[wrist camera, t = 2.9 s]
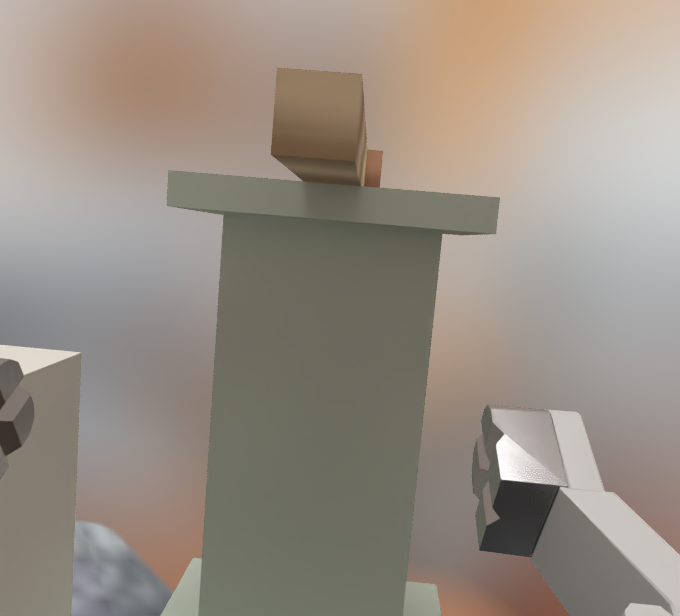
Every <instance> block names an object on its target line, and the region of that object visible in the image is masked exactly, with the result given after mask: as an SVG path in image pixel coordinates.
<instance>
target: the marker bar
mask: <svg viewBox="0 0 680 616" xmlns="http://www.w3.org/2000/svg"><path fill="white" fill-rule="evenodd" d="M271 155H272V156H273V157H275V158H276V159H277V160H278V161H280V162H281V163H282V164H283V165H284V166H286V167H287V168H288V169H289V170H291V171H292V172H293V173H294V174H296V175H297V176H298V177H299V178H300V179H301V180H303V181H304V182H316V183H328V184H340V185H352V186H365V187H377V188H380V187H379V186H380V176H381V166H382V155H383V151H376V150H367V137H366V122H365V109H364V95H363V81H362V74H354V73H340V72H328V71H315V70H301V69H288V68H287V69H286V68H277V77H276V90H275V106H274V119H273V133H272V146H271Z"/></svg>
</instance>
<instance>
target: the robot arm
mask: <svg viewBox="0 0 680 616" xmlns="http://www.w3.org/2000/svg"><path fill="white" fill-rule="evenodd" d="M23 377H24V374H23V372H22V369H21V367H20V364H19V362H17V361H14V360H11V359H5V358H0V480H1V478H2V477H3V475H4V474H5V472H6V470H7V469H8V467H9V464H8V459H7V455H9V454H11V453H12V452H14V451H15V450H17V449H19V448H20V447H22V446H23V444H24V443H25V441H26V439H27V438H28V436H29V434H30V432H31V428H32V425H33V421H34V418H35V416H34V403H33V400H32V397H31V395H30V394H29V393H28V392H27V391H26V390H25V389H24V388H22V387H21V386H20V385H19V384H20V382H21V381H22V379H23ZM481 423H482V431H483V434H482V435H481V436H480V437H478V438H477V439H476V444H475V448H474V453H473V463H472V484H473V493H474V494H475V495H476V496H477V498H478V499H479V500H480V501H479V504H478V508H477V511H476V524H477V534H478V543H479V550H480V551H488V552H496V553H503V554H511V555H518V556H525V557H531V561H532V562H533V564H534V565H535V567H536V568H537V570H538V571H539V572H540V574H541V575H542V577H543V578H544V580H545V581H546V582H547V584H548V585H549V587H550V588H551V590H552V591H553V592H554V594H555V595H556V596H557V598H558V600H559V601H560V602H561V604H562V605H563V607H564V608H565V609H566V611H567V612H568V614H569V615H570V616H680V555H679V554H678V553H677V552H676V551H675V550H674V549H673V548H672V547H671V546H670V545H668V543H667V542H665V541H664V540H663V539H662V538H661V537H660V536H659V535H658V534H657V533H656V532H655V531H654V530H653V529H652V528H651V527H650V526H649V525H647V523H646V522H644V521H643V520H642V519H641V518H640V517H639V516H638V515H637V514H636V513H635V512H634V511H633V510H632V509H631V508H630V507H629V506H628V505H626V503H624V502H623V501H622V500H621V499H620V498H619V497H618V496H617V495H616V494H615V493H612V492H605V490H604V487H603V484H602V481H601V478H600V474H599V471H598V468H597V465H596V462H595V458H594V455H593V452H592V449H591V445H590V443H589V439H588V436H587V433H586V430H585V427H584V423H583V420H582V417H581V416H580V415H579V414H578V412H568V411H557V410H543V409H532V408H520V407H509V406H497V405H487V406H486V408H485V409H484V412H483V416H482V420H481Z"/></svg>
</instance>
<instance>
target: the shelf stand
mask: <svg viewBox="0 0 680 616" xmlns="http://www.w3.org/2000/svg"><path fill="white" fill-rule="evenodd" d="M499 201H500V198H498V197H486V196H474V195H462V194H449V193H437V192H425V191H413V190H401V189H388V188H377V187H365V186H352V185H340V184H328V183H316V182H304V181H290V180H280V179H268V178H256V177H243V176H231V175H219V174H207V173H195V172H182V171H171V170H169V171H168V189H167V206H171V207H177V208H184V209H189V210H196V211H202V212H208V213H214V214H221V215H224V218H223V234H222V249H221V267H220V281H219V297H218V312H217V329H216V345H215V360H214V375H213V392H212V408H211V423H210V438H209V454H208V470H207V485H206V501H205V518H204V533H203V549H202V559H199V558H193V559H192V561H191V563H190V565H189V566H188V568H187V570H186V572H185V573H184V575H183V577H182V579H181V580H180V582H179V584H178V586H177V588H176V589H175V591H174V593H173V595H172V596H171V598H170V600H169V602H168V603H167V605H166V607H165V609H164V610H163V612H162V614H161V616H442V615H441V610H440V604H439V598H438V593H437V587H436V584H426V583H417V582H408V581H406V578H407V569H408V560H409V550H410V540H411V530H412V521H413V511H414V502H415V492H416V482H417V472H418V463H419V453H420V444H421V434H422V425H423V415H424V405H425V396H426V386H427V376H428V367H429V357H430V347H431V338H432V328H433V318H434V309H435V299H436V289H437V280H438V270H439V269H438V268H439V260H440V251H441V241H442V234H453V235H479V234H480V235H481V234H496V227H497V219H498V210H499Z"/></svg>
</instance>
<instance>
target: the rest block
mask: <svg viewBox="0 0 680 616" xmlns="http://www.w3.org/2000/svg"><path fill="white" fill-rule="evenodd" d="M0 358H5V359H11V360H14V361H17V362H19V364H20V367H21V369H22V372H23V374H24V377H23V379H22V381H21V382H20V384H19V385H20V386H21V387H22V388H24V389H25V390H26V391H27V392H28V393H29V394H30V395H31V397H32V400H33V403H34V416H35V418H34V421H33V425H32V428H31V432H30V434H29V436H28V438H27V439H26V441H25V443H24V444H23V446H22V447H20V448H19V449H17V450H15V451H14V452H12V453H11V454H9V455H7V459H8V464H9V467H8V469H7V470H6V472H5V474H4V475H3V477H2V478H1V480H0V616H71V610H72V584H73V558H74V532H75V505H76V481H77V480H76V478H77V454H78V429H79V428H78V427H79V402H80V376H81V353H79V352H69V351H59V350H49V349H37V348H28V347H16V346H7V345H0Z"/></svg>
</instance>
